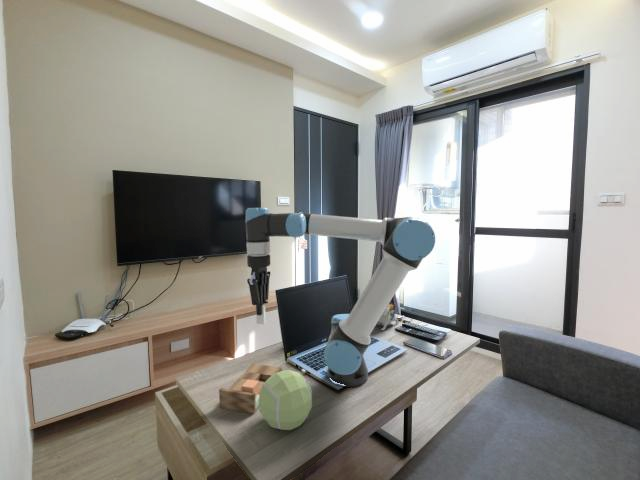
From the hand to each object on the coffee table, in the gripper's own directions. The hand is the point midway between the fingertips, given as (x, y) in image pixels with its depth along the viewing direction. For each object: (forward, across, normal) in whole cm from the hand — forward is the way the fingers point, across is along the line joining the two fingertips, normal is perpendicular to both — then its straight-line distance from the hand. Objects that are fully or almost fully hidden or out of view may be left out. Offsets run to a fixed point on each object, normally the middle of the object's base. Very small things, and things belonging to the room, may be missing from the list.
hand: (261, 323), depth 104 cm
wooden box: (+24, +1, -3) cm, 24 cm away
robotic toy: (+24, -66, +38) cm, 80 cm away
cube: (+21, +8, -1) cm, 22 cm away
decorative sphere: (+24, +14, +14) cm, 31 cm away
